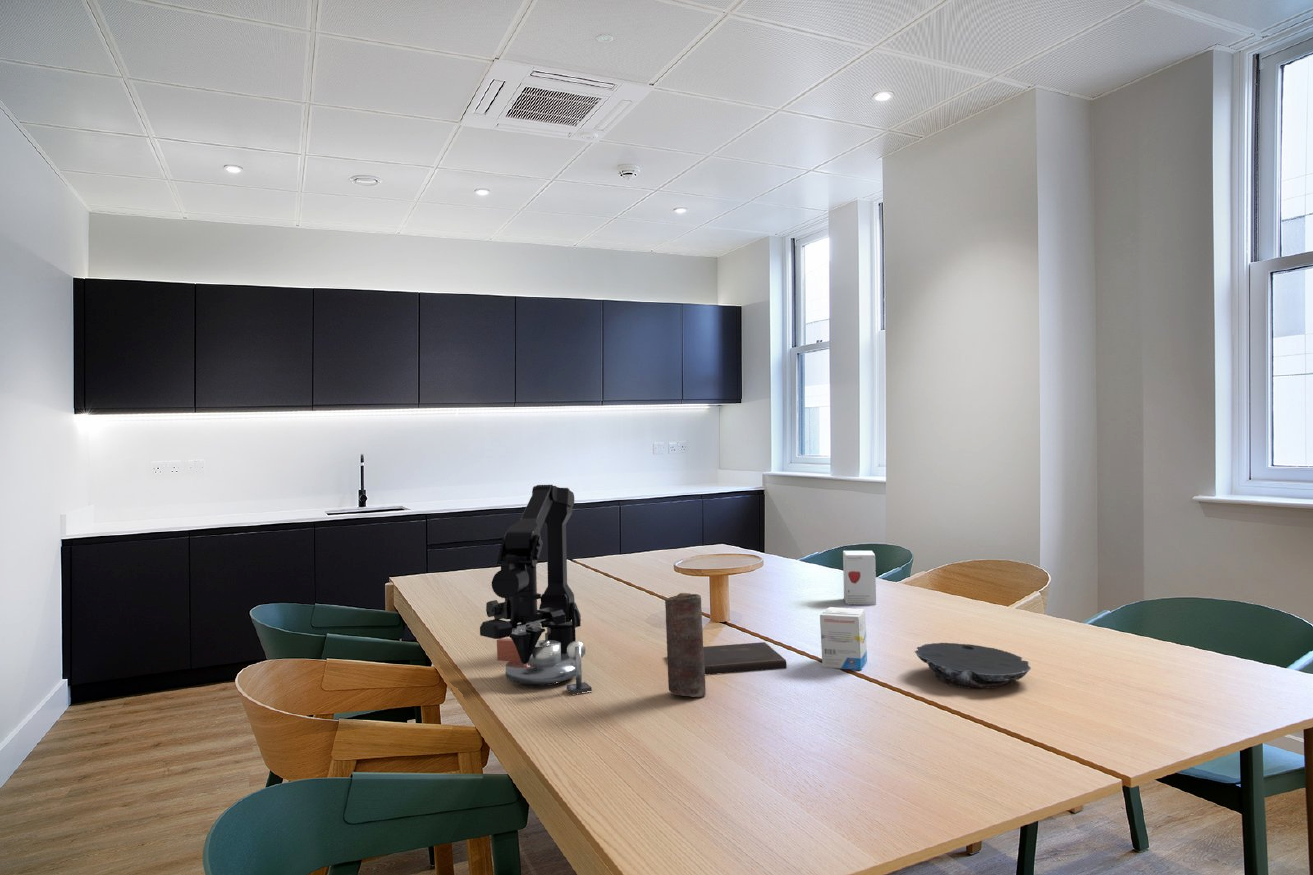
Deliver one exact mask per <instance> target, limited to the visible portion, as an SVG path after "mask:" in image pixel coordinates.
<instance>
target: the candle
mask: <svg viewBox="0 0 1313 875" xmlns="http://www.w3.org/2000/svg"><path fill="white" fill-rule="evenodd" d="M664 606H665V626H666V628H665V630H666V653H667V654H666V657H667V661H666V662H667V679H668V680H667V683H668V691H669V692H670V693H671V694H672V695H675V696H676V695H677V696H683V697H692V698H703V697H706V693H707V692H706V691H707V689H706V675H705V667H704V651H703V647H704V634H703V633H704V632H703V618H702V617H703V613H702V612H703V610H702V609H703V608H702V597H701V595H700V594H698V593H689V592H688V593H687V592H680V593H678V594H677V595H674V596H673V595H672V596H669V597H666V598H665V599H664Z"/></svg>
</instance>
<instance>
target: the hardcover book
mask: <svg viewBox="0 0 1313 875" xmlns="http://www.w3.org/2000/svg"><path fill="white" fill-rule="evenodd" d="M703 651H704V667H705V674H710V675H718V674H717V673H722V674H730V673H731V674H733V673H746V672H758V671H759V672H760V671H770V670H771V671H772V670H782V669H788V667H787V666H788V665H787V664H788V663H787V660H786V658H784V657H783V656H782V655H781V654H779V652H777V651H776V650H775V649H773V647H771V646H770V645H769V644H767V643H766V642H765V641H763V642H762V641H759V642H751V643H749V642H748V643H737V644H736V643H735V644H722V645H710V646H709V645H707V646H703Z"/></svg>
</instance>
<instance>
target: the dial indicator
mask: <svg viewBox="0 0 1313 875" xmlns="http://www.w3.org/2000/svg"><path fill="white" fill-rule="evenodd" d="M567 654H568V656H569V657H570V658H572V659H574V660H575V664H574V663H571V665H572V666H573V667H575V668H576V676H575V683H572V684H566V691H567V690H568V691H567V692H569V691H570V692H571V693H572V694H577V693H582V692H587V691H592V690H593V689H592V686H590V684H588V683H587V682H586V681H584V682H583V680H582V679H583V676H582V658H583V657H584V656H585V655H586V646H585V645H584V644H583V643H582V642H580V641H579V640H576V641H573V642H571V643H570V644H569V645H568V647H567ZM570 692H569V693H570ZM592 692H593V691H592ZM571 693H570V694H571ZM572 694H571V695H572Z"/></svg>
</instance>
